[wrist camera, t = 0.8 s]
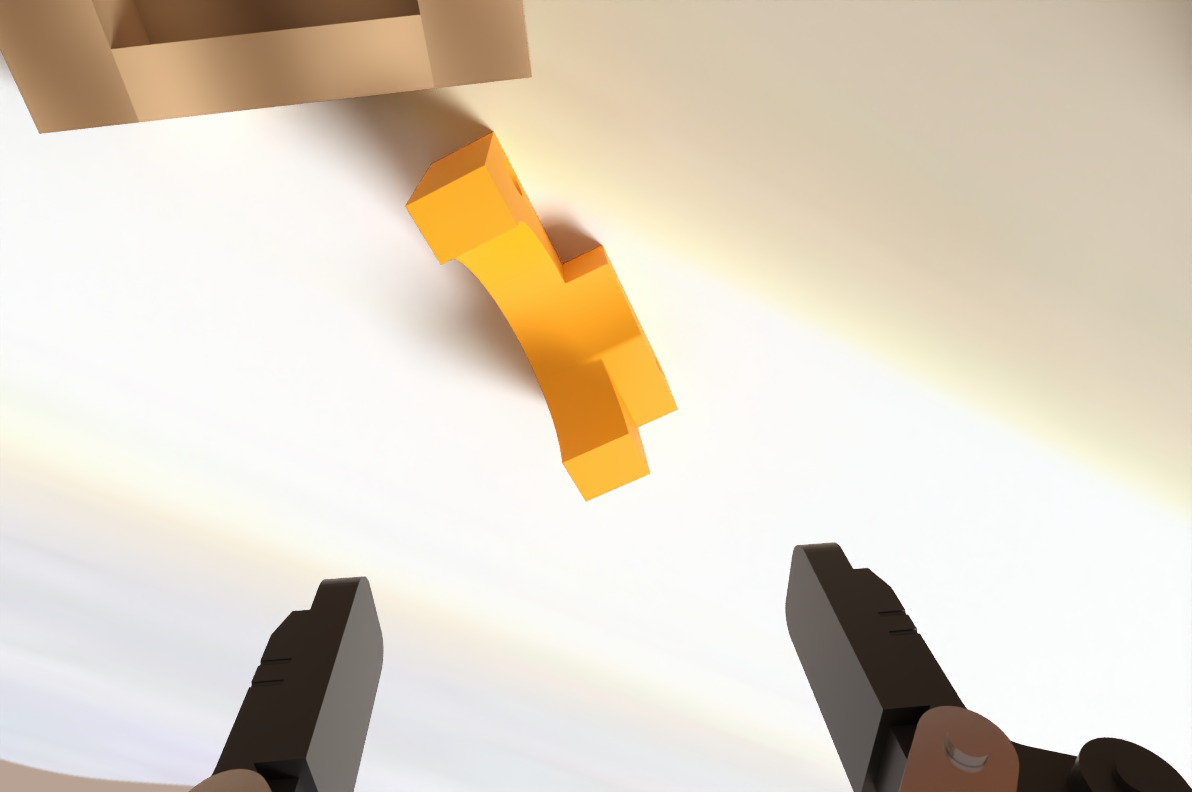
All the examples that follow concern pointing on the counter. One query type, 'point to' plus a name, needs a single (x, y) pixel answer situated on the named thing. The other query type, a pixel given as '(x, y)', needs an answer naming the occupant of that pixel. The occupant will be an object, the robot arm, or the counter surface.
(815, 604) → the robot arm
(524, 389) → the counter surface
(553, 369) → the pipe clamp
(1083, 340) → the counter surface
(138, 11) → the wooden tray
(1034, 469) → the counter surface
